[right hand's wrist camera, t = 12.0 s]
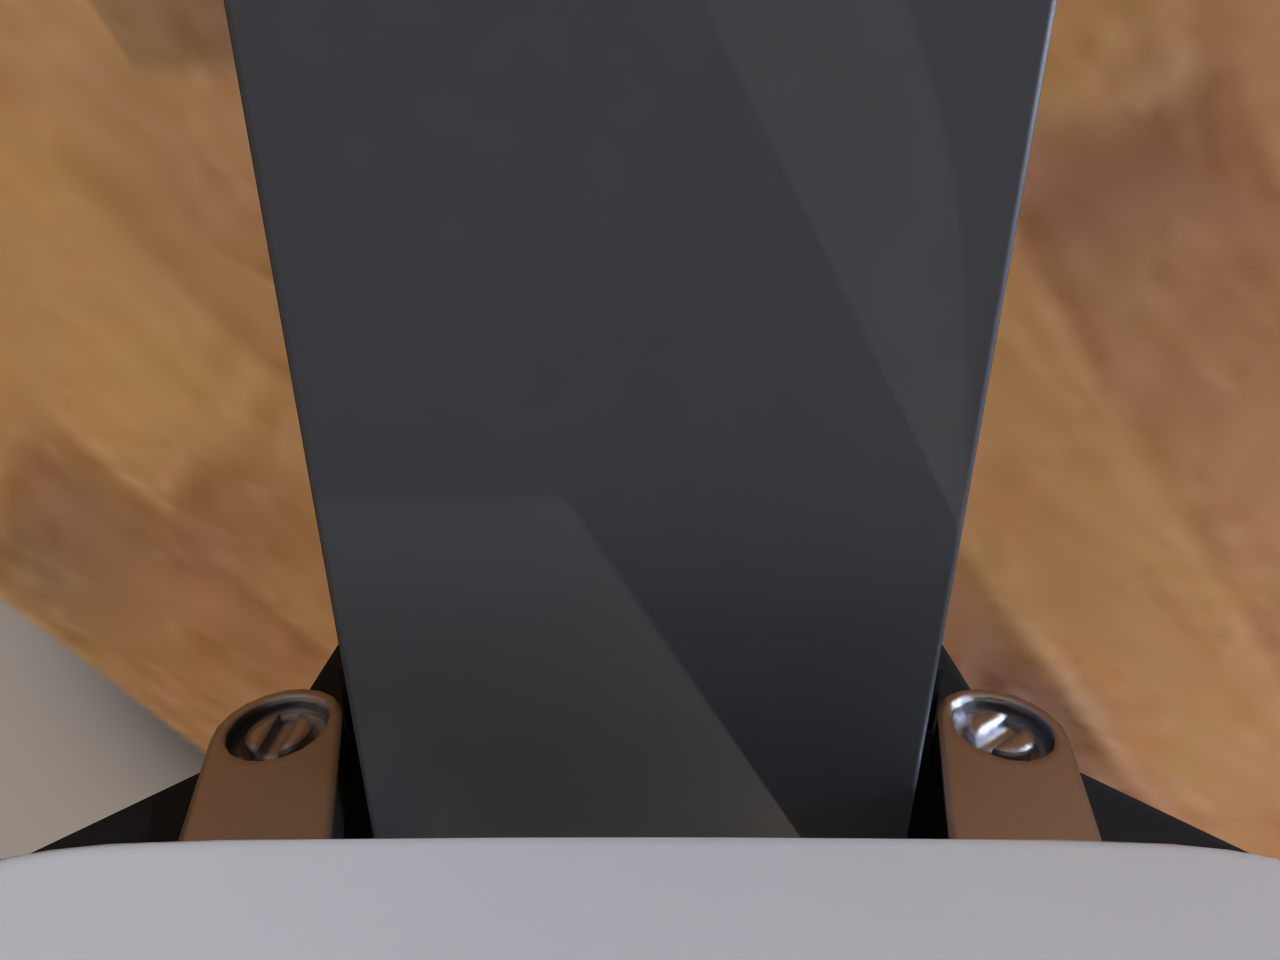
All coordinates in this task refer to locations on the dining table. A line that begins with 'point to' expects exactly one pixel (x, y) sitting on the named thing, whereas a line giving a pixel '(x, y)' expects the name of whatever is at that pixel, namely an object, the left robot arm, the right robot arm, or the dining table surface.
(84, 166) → the dining table surface
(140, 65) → the dining table surface
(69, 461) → the dining table surface
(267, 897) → the right robot arm
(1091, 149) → the dining table surface
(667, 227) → the beam
